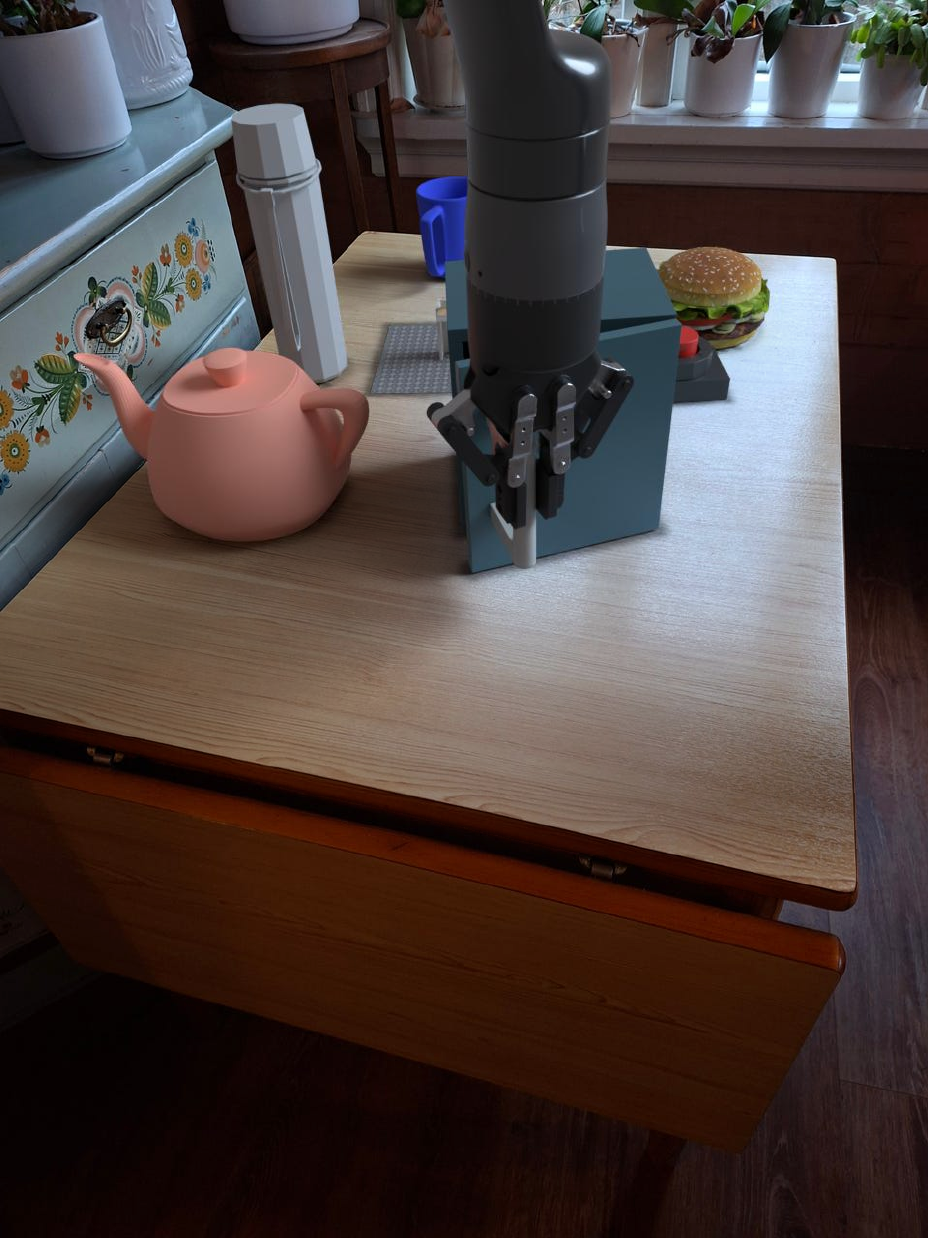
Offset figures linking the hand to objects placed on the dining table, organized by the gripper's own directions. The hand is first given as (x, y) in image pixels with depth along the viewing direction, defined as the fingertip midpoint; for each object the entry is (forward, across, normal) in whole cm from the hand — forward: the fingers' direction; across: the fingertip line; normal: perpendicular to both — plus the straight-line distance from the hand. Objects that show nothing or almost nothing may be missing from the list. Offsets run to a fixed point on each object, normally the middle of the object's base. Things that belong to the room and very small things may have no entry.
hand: (529, 515), depth 61 cm
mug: (+11, +19, +60) cm, 64 cm away
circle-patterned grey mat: (+11, +13, +40) cm, 43 cm away
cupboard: (+10, +9, +14) cm, 19 cm away
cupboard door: (+9, +6, +3) cm, 11 cm away
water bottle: (+11, -4, +44) cm, 45 cm away
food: (+10, +37, +33) cm, 51 cm away
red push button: (+6, +28, +24) cm, 37 cm away
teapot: (+11, -15, +26) cm, 32 cm away
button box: (+10, +28, +24) cm, 38 cm away
